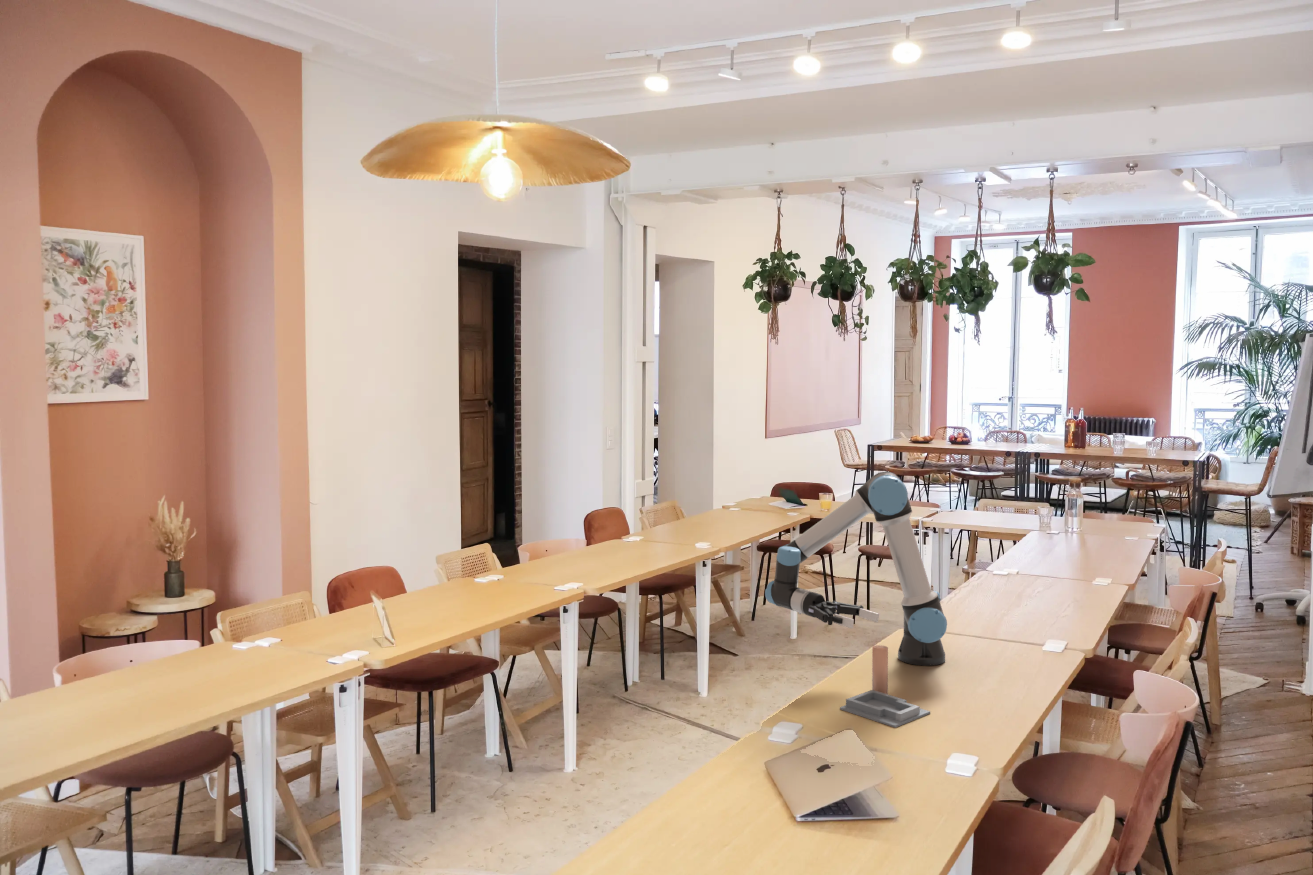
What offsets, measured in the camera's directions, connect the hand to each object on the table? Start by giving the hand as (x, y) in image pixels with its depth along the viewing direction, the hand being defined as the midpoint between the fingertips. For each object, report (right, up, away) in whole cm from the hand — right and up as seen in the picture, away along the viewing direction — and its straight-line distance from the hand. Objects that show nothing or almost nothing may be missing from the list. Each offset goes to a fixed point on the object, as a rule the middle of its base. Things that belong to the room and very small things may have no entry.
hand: (865, 620), depth 295 cm
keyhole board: (+1, -22, -19) cm, 29 cm away
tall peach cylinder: (+3, -21, -4) cm, 21 cm away
